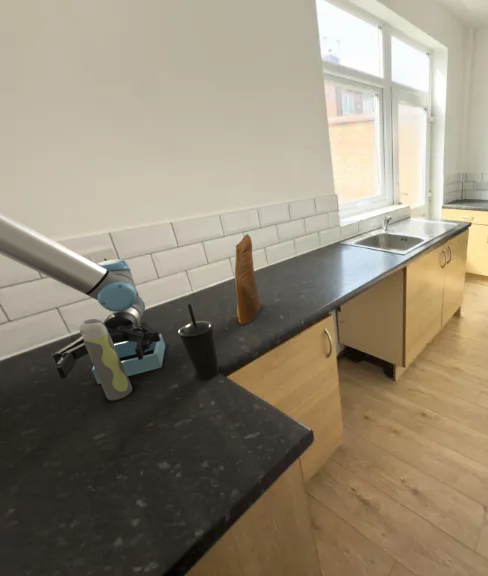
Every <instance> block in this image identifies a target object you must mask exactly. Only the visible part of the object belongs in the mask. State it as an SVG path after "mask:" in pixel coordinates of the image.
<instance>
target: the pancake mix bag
mask: <svg viewBox="0 0 488 576" xmlns="http://www.w3.org/2000/svg"><path fill="white" fill-rule="evenodd" d="M253 258H254V257H253V243H252V238H251V236H250V234H249V233H246V234H245V235H244V236H243V238H242V239H241V240H240V241H239V242H238V243H237V244H236V245H235V263H234V284H235V285H234V286H235V290H236V291H235V293H236V315H237V321H238V324H240V326H244V325H245V324H248V323H250V322H252V321H254V319H255V318H256V316H257V315H258V313H259V312H260V311H261V309H262V305H261V301H260V296H259V291H258V287H257V286H258V285H257V280H256V277H255V268H254V259H253Z"/></svg>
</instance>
